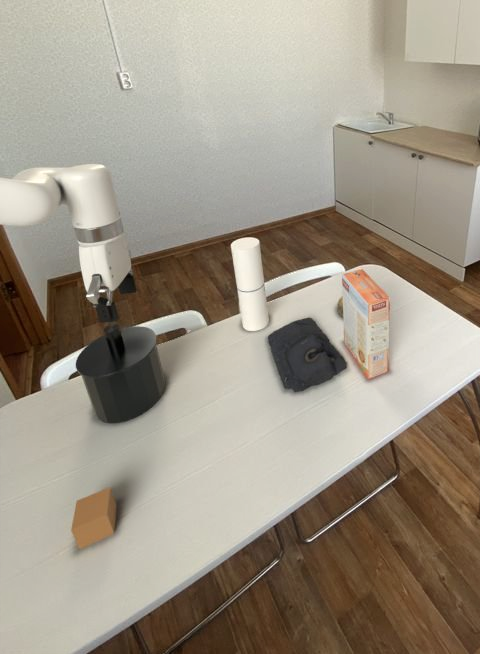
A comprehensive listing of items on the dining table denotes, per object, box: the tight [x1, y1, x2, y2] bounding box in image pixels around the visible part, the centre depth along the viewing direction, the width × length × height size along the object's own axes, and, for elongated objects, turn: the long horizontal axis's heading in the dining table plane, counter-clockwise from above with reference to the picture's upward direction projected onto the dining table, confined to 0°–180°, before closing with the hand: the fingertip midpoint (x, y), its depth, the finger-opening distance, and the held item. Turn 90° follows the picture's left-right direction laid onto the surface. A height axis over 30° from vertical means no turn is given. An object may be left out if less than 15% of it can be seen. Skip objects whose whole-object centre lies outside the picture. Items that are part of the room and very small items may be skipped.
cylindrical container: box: [230, 236, 270, 332], centre depth 103 cm, size 7×7×25 cm
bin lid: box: [75, 322, 158, 379], centre depth 79 cm, size 15×15×7 cm
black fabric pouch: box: [267, 316, 347, 393], centre depth 95 cm, size 15×22×5 cm
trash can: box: [81, 344, 166, 424], centre depth 82 cm, size 14×14×12 cm
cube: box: [70, 486, 118, 550], centre depth 60 cm, size 5×5×5 cm
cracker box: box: [341, 268, 391, 380], centre depth 91 cm, size 14×6×21 cm, turn 25°
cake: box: [336, 295, 343, 318], centre depth 112 cm, size 10×10×5 cm
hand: (119, 306), depth 78 cm, fingers open, 9 cm apart
